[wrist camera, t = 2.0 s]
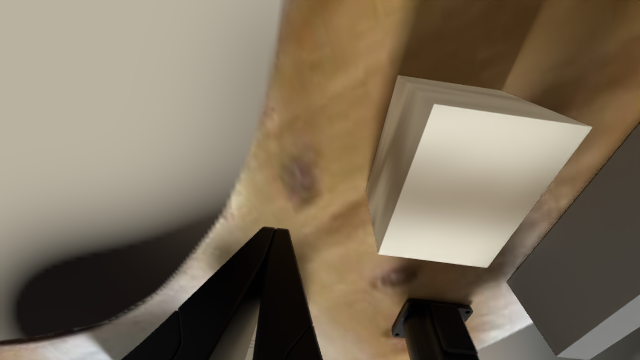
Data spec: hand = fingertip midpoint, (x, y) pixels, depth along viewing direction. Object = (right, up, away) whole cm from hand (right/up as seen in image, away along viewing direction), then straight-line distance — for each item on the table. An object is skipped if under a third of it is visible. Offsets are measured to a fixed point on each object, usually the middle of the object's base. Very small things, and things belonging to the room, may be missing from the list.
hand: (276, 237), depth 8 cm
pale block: (+8, +4, +8) cm, 12 cm away
